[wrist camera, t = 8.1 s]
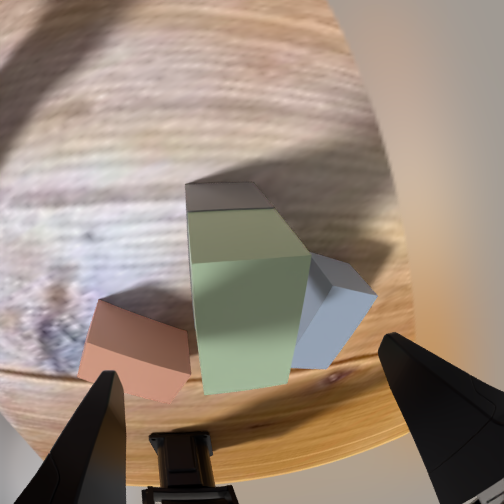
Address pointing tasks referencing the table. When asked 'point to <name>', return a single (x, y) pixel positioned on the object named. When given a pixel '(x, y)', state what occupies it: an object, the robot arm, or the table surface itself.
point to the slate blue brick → (329, 311)
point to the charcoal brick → (222, 201)
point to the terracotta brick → (136, 353)
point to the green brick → (246, 297)
